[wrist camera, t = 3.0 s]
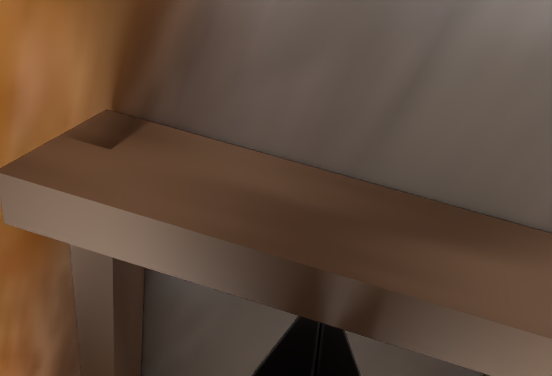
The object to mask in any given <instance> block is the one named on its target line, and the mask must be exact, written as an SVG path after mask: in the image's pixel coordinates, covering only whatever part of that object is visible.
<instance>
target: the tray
mask: <svg viewBox="0 0 552 376" xmlns="http://www.w3.org/2000/svg"><path fill="white" fill-rule="evenodd" d="M0 202H1V208H2V213H3V218H4V224H7V225H11V226H14V227H17V228H20V229H23V230H27V231H30V232H33V233H36V234H39V235H43V236H46V237H49V238H52V239H55V240H58V241H62V242H65V243H68V244H70V254H71V266H72V277H73V289H74V300H75V312H76V323H77V335H78V346H79V358H80V369H81V376H141V353H142V326H143V299H144V272H145V268H148V269H151V270H154V271H158V272H161V273H164V274H167V275H170V276H174V277H177V278H180V279H183V280H186V281H190V282H193V283H196V284H199V285H202V286H206V287H209V288H212V289H215V290H218V291H222V292H225V293H228V294H231V295H234V296H238V297H241V298H244V299H247V300H250V301H254V302H257V303H260V304H263V305H266V306H270V307H273V308H276V309H279V310H282V311H286V312H289V313H292V314H295V315H298V316H302V317H305V318H308V319H311V320H314V321H318V322H321V323H324V324H327V325H330V326H334V327H337V328H340V329H343V330H346V331H350V332H353V333H356V334H359V335H362V336H366V337H369V338H372V339H375V340H378V341H382V342H385V343H388V344H391V345H394V346H398V347H401V348H404V349H407V350H410V351H414V352H417V353H420V354H423V355H426V356H429V357H433V358H436V359H439V360H442V361H445V362H449V363H452V364H455V365H458V366H461V367H465V368H468V369H471V370H474V371H477V372H481V373H484V374H486V375H485V376H552V234H551V233H548V232H544V231H541V230H537V229H533V228H530V227H526V226H523V225H519V224H516V223H512V222H508V221H505V220H501V219H498V218H494V217H490V216H487V215H483V214H480V213H476V212H472V211H469V210H465V209H462V208H458V207H455V206H451V205H447V204H444V203H440V202H437V201H433V200H429V199H426V198H422V197H419V196H415V195H411V194H408V193H404V192H401V191H397V190H393V189H390V188H386V187H383V186H379V185H376V184H372V183H368V182H365V181H361V180H358V179H354V178H350V177H347V176H343V175H340V174H336V173H332V172H329V171H325V170H322V169H318V168H315V167H311V166H307V165H304V164H300V163H297V162H293V161H289V160H286V159H282V158H279V157H275V156H271V155H268V154H264V153H261V152H257V151H254V150H250V149H246V148H243V147H239V146H236V145H232V144H228V143H225V142H221V141H218V140H214V139H210V138H207V137H203V136H200V135H196V134H193V133H189V132H185V131H182V130H178V129H175V128H171V127H167V126H164V125H160V124H157V123H153V122H149V121H146V120H142V119H139V118H135V117H132V116H128V115H124V114H121V113H117V112H114V111H110V110H105V111H103V112H101V113H99V114H98V115H96V116H94V117H92V118H90V119H89V120H87V121H85V122H83V123H81V124H80V125H78V126H76V127H74V128H72V129H70V130H69V131H67V132H65V133H63V134H61V135H60V136H58V137H56V138H54V139H52V140H51V141H49V142H47V143H45V144H43V145H42V146H40V147H38V148H36V149H34V150H33V151H31V152H29V153H27V154H25V155H24V156H22V157H20V158H18V159H16V160H14V161H13V162H11V163H9V164H7V165H5V166H4V167H2V168H0Z"/></svg>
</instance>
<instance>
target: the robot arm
mask: <svg viewBox="0 0 552 376" xmlns="http://www.w3.org/2000/svg"><path fill="white" fill-rule="evenodd" d="M251 376H361V375H360V372H359V369H358V366H357V364H356V361H355V358H354V355H353V353H352V350H351V347H350V344H349V342H348V339H347V336H346V333H345V330H343V329H340V328H337V327H334V326H330V325H327V324H324V323H321V322H318V321H314V320H311V319H308V318H305V317H302V316H298V317H297V318H296V319H295V320H294V322H293V323H292V324H291V326H290V327H289V328H288V329H287V331H286V332H285V333H284V334H283V336H282V337H281V338H280V340H279V341H278V342H277V343H276V345H275V346H274V347H273V348H272V350H271V351H270V352H269V354H268V355H267V356H266V357H265V359H264V360H263V361H262V362H261V364H260V365H259V366H258V368H257V369H256V370H255V371H254V373H253V374H252V375H251Z"/></svg>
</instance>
